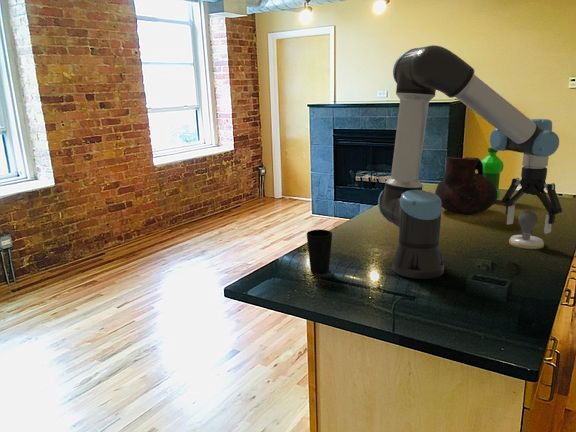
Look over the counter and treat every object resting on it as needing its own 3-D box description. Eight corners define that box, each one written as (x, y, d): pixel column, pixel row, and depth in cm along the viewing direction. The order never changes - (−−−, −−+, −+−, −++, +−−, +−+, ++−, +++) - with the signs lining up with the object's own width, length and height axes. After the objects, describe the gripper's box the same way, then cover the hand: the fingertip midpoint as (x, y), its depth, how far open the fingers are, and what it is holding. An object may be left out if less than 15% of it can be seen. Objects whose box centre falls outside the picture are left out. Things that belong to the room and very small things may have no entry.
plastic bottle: (504, 202, 221) (509, 149, 215) (481, 203, 221) (485, 149, 215) (495, 198, 231) (500, 146, 224) (473, 198, 231) (477, 147, 225)
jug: (507, 213, 203) (513, 155, 197) (471, 223, 190) (476, 161, 183) (458, 202, 223) (461, 149, 217) (422, 211, 210) (424, 155, 203)
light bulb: (537, 238, 164) (540, 210, 162) (533, 242, 159) (537, 213, 157) (518, 235, 168) (521, 208, 165) (514, 239, 163) (517, 211, 160)
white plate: (527, 250, 157) (527, 245, 157) (502, 241, 167) (502, 236, 167) (551, 246, 161) (551, 241, 161) (525, 237, 171) (525, 232, 170)
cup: (324, 277, 140) (324, 238, 137) (302, 272, 144) (301, 234, 141) (336, 268, 146) (336, 231, 143) (314, 264, 150) (314, 228, 147)
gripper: (579, 170, 149) (571, 234, 154) (507, 161, 169) (502, 218, 175) (566, 172, 145) (557, 239, 150) (494, 163, 165) (489, 221, 171)
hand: (527, 228), depth 163 cm, fingers open, 13 cm apart
